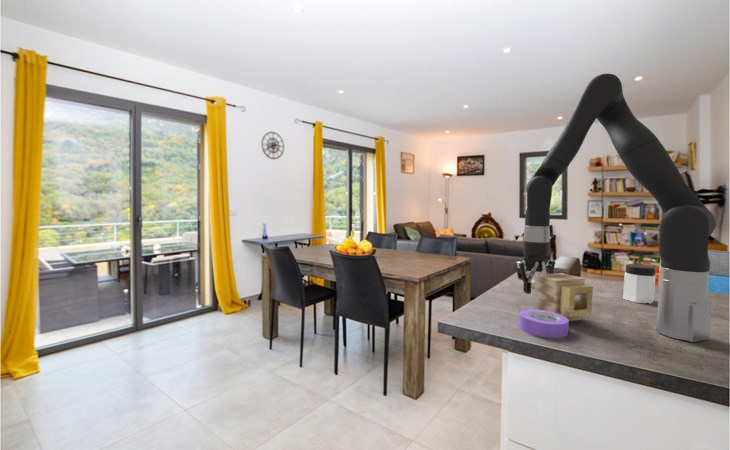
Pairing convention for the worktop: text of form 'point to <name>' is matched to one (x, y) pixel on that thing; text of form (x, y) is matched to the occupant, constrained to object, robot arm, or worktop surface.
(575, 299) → the shaft
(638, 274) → the jar
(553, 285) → the tan wooden block
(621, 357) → the worktop surface
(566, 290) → the block
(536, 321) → the masking tape
